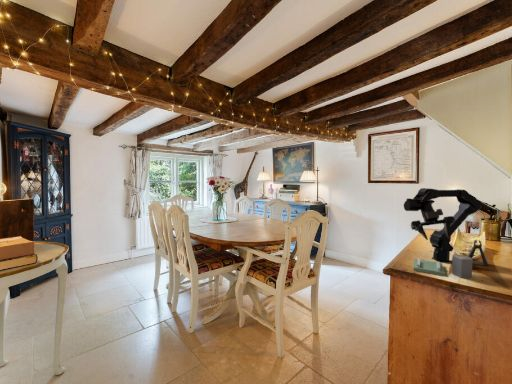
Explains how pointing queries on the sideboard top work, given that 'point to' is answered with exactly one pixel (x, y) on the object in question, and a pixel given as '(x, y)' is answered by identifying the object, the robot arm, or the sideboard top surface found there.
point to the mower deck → (428, 267)
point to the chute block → (462, 266)
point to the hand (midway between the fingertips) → (437, 238)
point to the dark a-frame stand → (480, 252)
